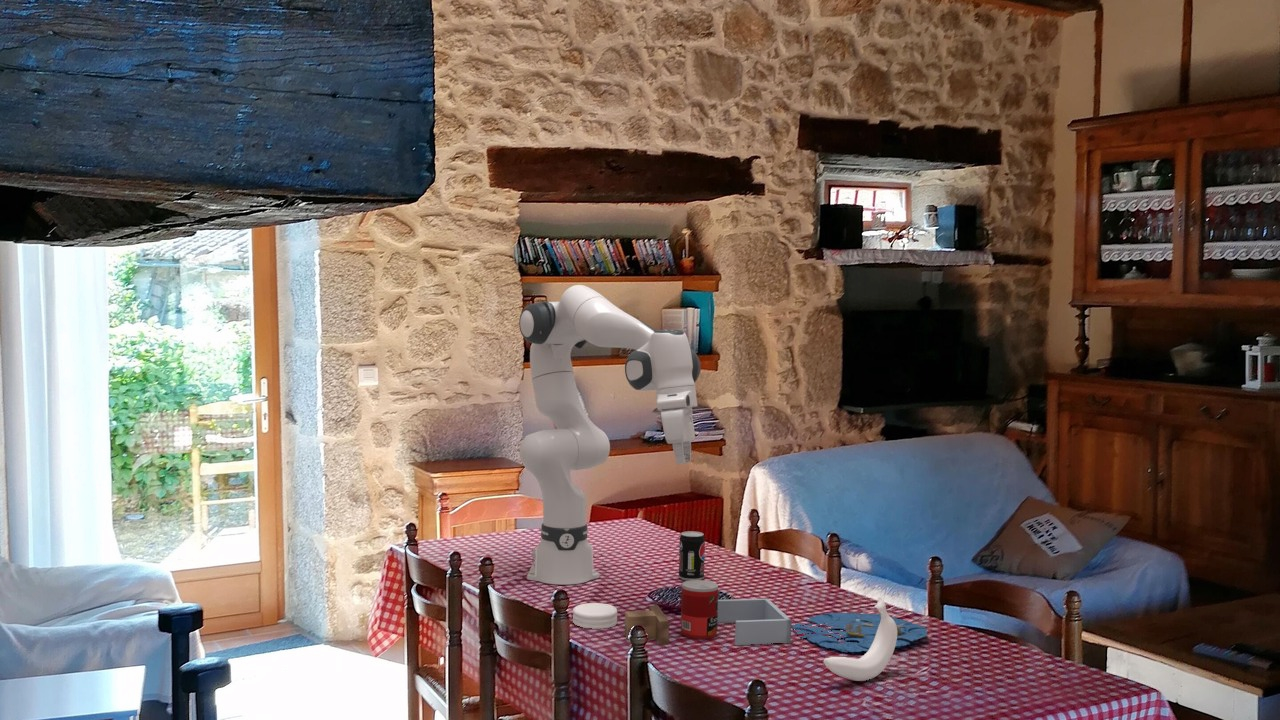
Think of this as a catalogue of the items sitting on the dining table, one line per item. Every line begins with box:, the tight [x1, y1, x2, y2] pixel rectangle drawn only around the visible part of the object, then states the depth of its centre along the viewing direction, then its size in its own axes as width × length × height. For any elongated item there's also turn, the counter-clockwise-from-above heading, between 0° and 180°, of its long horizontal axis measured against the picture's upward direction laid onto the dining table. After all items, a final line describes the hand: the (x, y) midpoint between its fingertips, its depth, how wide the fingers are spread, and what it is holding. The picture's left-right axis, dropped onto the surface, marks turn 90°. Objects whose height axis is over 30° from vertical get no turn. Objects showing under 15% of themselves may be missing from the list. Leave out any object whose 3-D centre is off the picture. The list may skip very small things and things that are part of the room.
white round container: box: [572, 602, 618, 630], centre depth 240 cm, size 10×10×4 cm
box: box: [717, 598, 792, 646], centre depth 236 cm, size 17×12×5 cm
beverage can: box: [678, 530, 706, 582], centre depth 280 cm, size 7×7×12 cm
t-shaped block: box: [624, 604, 670, 646], centre depth 231 cm, size 8×12×5 cm, turn 10°
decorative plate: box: [791, 612, 928, 655], centre depth 236 cm, size 30×30×5 cm
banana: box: [823, 596, 897, 682], centre depth 207 cm, size 5×19×15 cm, turn 132°
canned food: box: [680, 579, 719, 640], centre depth 233 cm, size 8×8×11 cm
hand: (684, 463), depth 237 cm, fingers open, 8 cm apart
